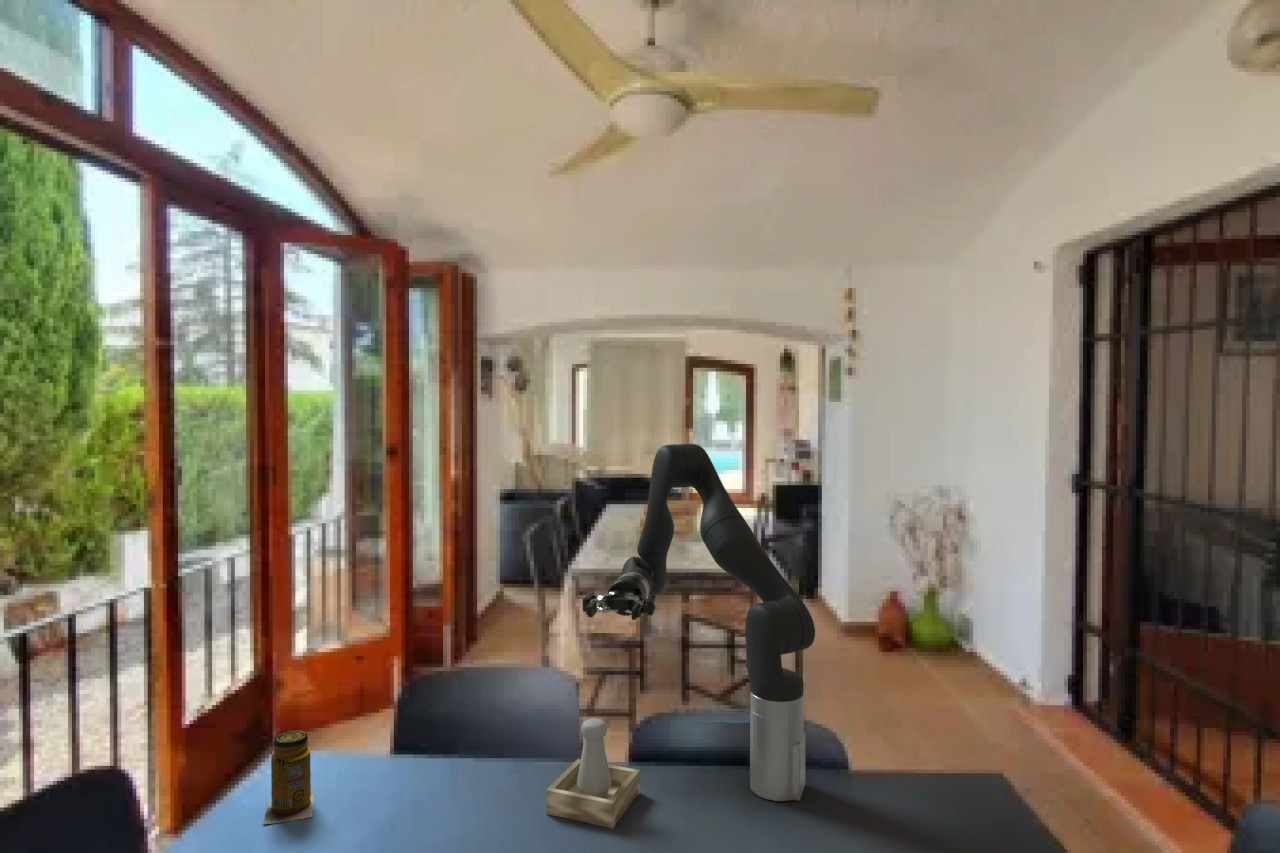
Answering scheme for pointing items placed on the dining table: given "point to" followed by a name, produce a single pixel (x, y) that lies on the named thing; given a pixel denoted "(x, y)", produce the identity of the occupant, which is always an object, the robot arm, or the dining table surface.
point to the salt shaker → (594, 760)
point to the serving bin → (590, 809)
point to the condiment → (290, 779)
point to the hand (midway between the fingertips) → (611, 613)
